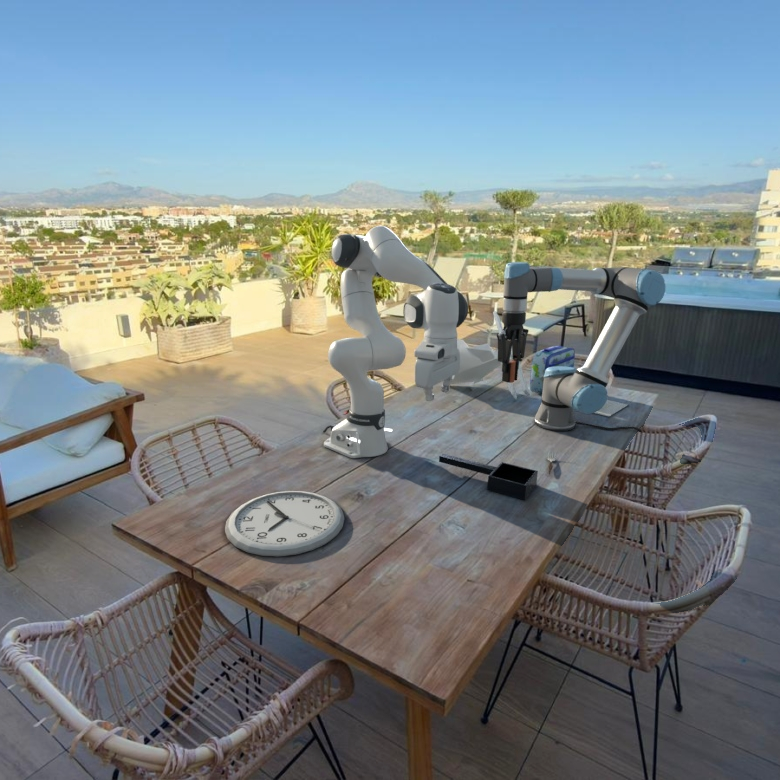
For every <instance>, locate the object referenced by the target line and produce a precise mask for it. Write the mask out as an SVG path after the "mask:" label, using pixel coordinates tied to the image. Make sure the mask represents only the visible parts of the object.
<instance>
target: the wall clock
mask: <svg viewBox="0 0 780 780" xmlns="http://www.w3.org/2000/svg"><path fill="white" fill-rule="evenodd" d="M344 515H345V514H344V511H343V509H342V508H341V507H340V505H338V503H336V502H335V501H334V500H333V499H332V500H331V499H330V498H329V497H327V496H324V495H322V494H318V493H316V492H311V491H310V492H309V491H305V490H304V491H303V490H284V491H276V492H272V493H267V494H264V495H260V496H257V497H255V498H252V499H250V500H248V501H246V502H245V503H243V504H241V505H240V506H238V508H236V509H235V510H233V511H232V512H231V513H230V515H229V517H228V518H227V520H226V521H225V527H224V532H225V536H226V538H227V540H228V541H229V542H230V544H231V545H233V546H234V547H235V548H237V549H240V550H241V551H244V552H245V553H248V554H252V555H256V556H262V557H287V556H294V555H296V556H297V555H299V554H304V553H307V552H311V551H313V550H316V549H318V548H320V547H322V546H324V545H327V544H328V543H329V542H331V541H332V540H333V539H335V538H336V537H337V536H338V534H339V533H340V532H341V530H342V529H343V527H344V522H345V516H344Z"/></svg>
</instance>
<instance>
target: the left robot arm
mask: <svg viewBox="0 0 780 780" xmlns="http://www.w3.org/2000/svg"><path fill="white" fill-rule="evenodd" d="M330 248H331V250H330V256H331V260H332V261H333V263H334V264H335V265H336V266H338V267H340V268H342V269H345V270H344V271H343V272H342V273H341V275H340V297H341V305H342V312H343V318H344V322H345V323H346V325H347V326H348V327H349V328H350V329H352V330H354V331H356V332H359V333H360V334H361V335H362V336H358V337H357V336H356V337H346V338H341V339H337V340H334V341H333V342H332V343H331V344H330V346H329V348H328V352H327V359H328V362H329V365H330V366H331V367H332V368H333V370H335V371H336V372H338V373H339V374H340V375H341V376H342V377H343V379H344V380H345V381H346V384H347V385H348V389H349V395H350V397H349V398H350V408H348V409H346V410H345V411H344V413H343V415H344V416H346V418H344V419H343V420H342V421H339V422H337V423H334V424H331V425H328V426H326V427H325V428H324V430H323V431H322V433H323V434H325V433H326V432H327V431H328V429H330V436H329V437H328V438H327V439H325V440H324V442H323V447H324V448H326V449H327V450H331V451H334V452H336V453H338V454H341V455H342V456H344V457H347V458H349V459H359V458H371V457H372V458H373V457H378V456H382V455H383V454H385V453H386V452H388V450H389V446H388V443H387V438H386V431H387V432H393V429H392V428H387V427H385V423H386V410H385V390H384V387H383V386H382V384H381V383H380V382H378V381H376V380H375V379H372V378H370V377H368V372H369V371H379V370H380V371H381V370H390V369H393V368H396V367H399V366H402V364H404V362H405V358H406V355H407V350H406V346H405V344H404V342H403V340H402V339H401V338H400V337H398V336H396V335H395V334H393V333H392V332H391V331H390V330H389V329H388V328H387V327H386V326H385V324H384V323H383V321H382V320H381V317H380V315H379V311H378V306H377V301H376V297H375V296H376V295H375V291H374V288H373V278H374V277H375V278H378V279H379V278H383V279H385V280H386V281H388V282H392V283H400V284H406V285H407V284H408V285H413V286H417V287H419V288H421V289H422V291H421V292H418V293H415V294H411V295H410V296H409V297H408V298H407V299H405V302H404V304H403V311H402V312H403V319H404V322H405V323H406V324H407V325H408V326H409V327H410V328H412V329H416V330H424V333H423V339H422V340H421V342H420V343H419V345H418V346H416V348H415V349H414V354H413V355H414V358H416V360H415V363H414V384H415V386H416V388H419V389H423V392H424V394H425V401H426V402H433V401H434V400H435V394H434V393H433V389H434V386H436V385H438V384H440V383H441V382H442V384H441V387H440V388H441V390H440V391H441V393H448V392H450V388H451V387H450V386H451V384H450V383H451V380H452V376H453V375H455V374H457V373H458V372H459V369H460V352H459V349H457V339H458V331H457V328H459V327H460V326H461V325H462V324H463V323H464V322H465V320H466V319H467V317H468V314H469V304H468V302H467V300H466V298H465V296H464V295H463V294H462V293H461V292H460V291H458V290H457V288H456V287H455V286H453V285H451V284H448V283H447V282H446V281H445V280H444V279H443V277H441V275H440V274H438V272H437V271H436V270H435V269H434V268H433V267H432V266H431V265H429V264H428V263H427V262H426V261H424V260H423V259H421V258H419V257H418V256H417V255H415V254H414V253H413V252H411V250H410V249H408V248H407V247H406V246H405V244H404V243H403V242H402V240H401V239H400V238H399V236H397V234H396V233H394V232H393V231H392V230H391V229H390V228H389V227H387V226H384V225H377V226H374V227H372V228H370V229H369V230H368V231H367V232H366V235H358V234H357V235H356V234H351V233H344V234H343V233H342V234H339V235H337V236H336V238H334V239H333V241H332V245H331V247H330ZM443 380H444V381H443Z"/></svg>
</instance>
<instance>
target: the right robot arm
mask: <svg viewBox="0 0 780 780" xmlns="http://www.w3.org/2000/svg"><path fill="white" fill-rule="evenodd" d="M665 282H666V281H665V278H664V276H663V275H662V274H661V273H660V272H659V271H658V270H654V269H650V268H640V267H639V268H638V267H637V268H636V267H628V266H617V267H595V268H593V269H583V268H568V267H554V266H540V265H537V266H535V265H530V263H528V262H525V261H523V262H521V261H519V262H516V261H513V262H508V263H506V265H505V269H504V276H503V299H502V300H503V301H502V310H503V311H502V313H501V324H503V326H502V327H503V331H502V332H501V333H499V332H497V333H496V339H497V350H498V361H500V362H502V363H501V373H502V375H501V381H502V382H504V383H507V382H510V370H511V363H509V361H510V355H511V349H512V357H513V359H512V360H513V361H516V365H515V380H514V382H515V381H518V369H519V362H522V361H523V359H524V358H525V352H526V345H527V339H528V334H529V328H528V329H527V328H524V324H526V319H527V318H526V316H527V313H526V311H527V309H528V293H540V292H541V293H543V292H546V293H547V292H548V293H551V292H555V291H556V292H557V291H558V290H562V291H564V290H565V291H579V292H590V293H591V294H592V295H599V296H600V295H601V296H605V297H608V298H612V299H613V302H614V308H613V309H612V311H611V313H610V315H609V317H608V319H607V321H606V323H605V325H604V326H603V328H602V330H601V332H600V334H599V336H598V337H597V340H596V341H595V344H594V345H593V347H592V349H591V351H590V353H589V355H588V356H587V358H586V360H585V362H584V364H583V366H581V367H578V368H576V367H574V368H573V367H564V366H556V367H549V368H547V369H546V370H545V374H544V382H543V391H542V393H541V402H540V405H539V407H538V410H537V411H536V413H535V416H534V424H535V425H536V426H537V427H539V428H542V429H544V430H549V431H556V432H567V431H572V430H574V429H575V428H576V425H580V426H586V427H591V428H597V429H600V430H601V429H602V430H606V431H616V430H636V431H637V432H639V433H640V434H641V433H642V434H643V431H642V429H640V428H639V427H637V426H617V427H606V426H602V425H596V424H591V423H586V422H581V421H576V418H575V417H576V416H575V413H574V411H576V412H578V413H581V414H583V415H584V414H585V415H591V414H592V415H593V414H595V413H594V412H597V411H598V410H600V409H601V408H602V407H603V406H604V405H605V403H606V401H607V400H608V398H609V397H608V390H607V386H608V384H609V382H608V379H607V376H608V374H609V373H610V371H611V369H612V367H613V365H614V363H615V362H616V360H617V357H618V356H619V354H620V352H621V350H622V349H623V347H624V345H625V343H626V341H627V339H628V337H629V336H630V334H631V332H632V330H633V328H634V327H635V325H636V323H637V321H638V319H639V317H640V316H642V315H645V314H647V312H648V310H649V309H650V307H653V306H655V305H658V304H659V303H660V302H661V301H662V300H663V298H664V296H665V293H666V287H667V286H666V283H665Z"/></svg>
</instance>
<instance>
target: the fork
mask: <svg viewBox="0 0 780 780" xmlns="http://www.w3.org/2000/svg"><path fill="white" fill-rule="evenodd" d="M547 460H548V461H549V464H548V475H550V474H551V471H552V469H553V462H556V460H557V453H555V452H553V450H550V449H549V450H548V456H547Z"/></svg>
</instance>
